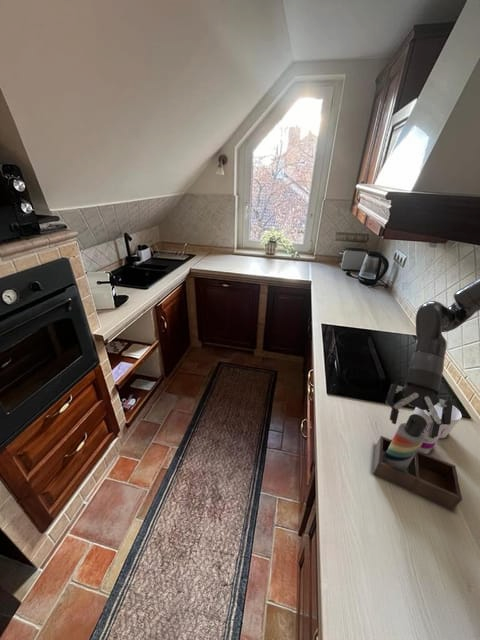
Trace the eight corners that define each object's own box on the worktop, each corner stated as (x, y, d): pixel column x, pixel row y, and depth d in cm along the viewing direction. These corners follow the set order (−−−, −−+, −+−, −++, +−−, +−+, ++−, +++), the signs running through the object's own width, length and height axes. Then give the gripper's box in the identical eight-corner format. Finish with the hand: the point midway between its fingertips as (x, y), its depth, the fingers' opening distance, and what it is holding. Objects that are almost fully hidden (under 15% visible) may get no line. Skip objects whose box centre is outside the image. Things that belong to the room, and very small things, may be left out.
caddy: (446, 477, 71) (455, 465, 69) (451, 511, 64) (462, 499, 61) (375, 447, 79) (380, 435, 76) (372, 474, 72) (378, 462, 69)
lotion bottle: (387, 452, 76) (411, 406, 67) (407, 467, 73) (435, 420, 63) (378, 464, 73) (402, 417, 63) (399, 480, 69) (427, 433, 60)
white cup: (443, 445, 80) (457, 424, 75) (416, 428, 85) (427, 408, 80) (451, 432, 85) (464, 411, 80) (424, 416, 90) (436, 396, 85)
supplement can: (429, 439, 82) (449, 406, 75) (431, 460, 76) (453, 427, 68) (401, 427, 86) (417, 395, 78) (400, 446, 79) (418, 414, 72)
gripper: (398, 361, 69) (384, 420, 66) (463, 379, 63) (450, 444, 60) (392, 365, 76) (379, 419, 73) (450, 382, 70) (439, 441, 67)
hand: (411, 430), depth 66 cm, fingers open, 8 cm apart
